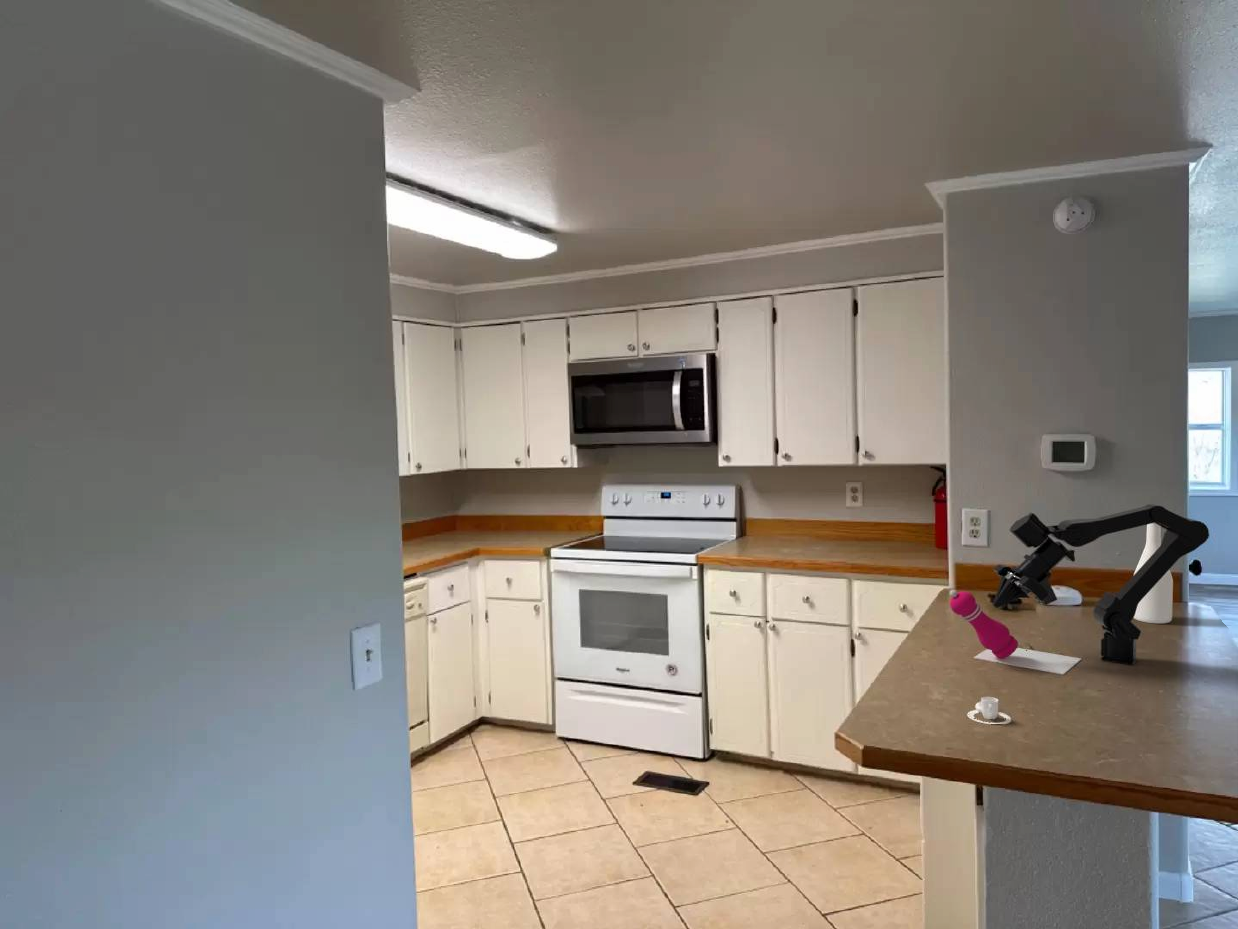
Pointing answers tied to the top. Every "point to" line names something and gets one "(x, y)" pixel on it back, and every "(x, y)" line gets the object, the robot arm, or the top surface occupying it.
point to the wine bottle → (1161, 595)
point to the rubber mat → (1033, 660)
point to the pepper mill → (983, 625)
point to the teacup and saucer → (988, 710)
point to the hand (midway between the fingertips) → (994, 606)
